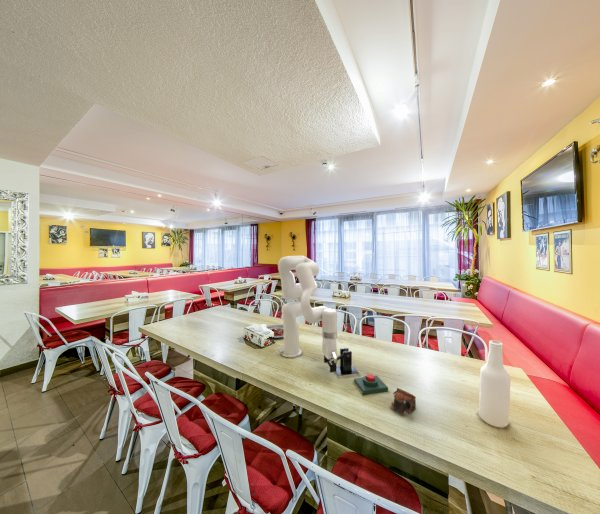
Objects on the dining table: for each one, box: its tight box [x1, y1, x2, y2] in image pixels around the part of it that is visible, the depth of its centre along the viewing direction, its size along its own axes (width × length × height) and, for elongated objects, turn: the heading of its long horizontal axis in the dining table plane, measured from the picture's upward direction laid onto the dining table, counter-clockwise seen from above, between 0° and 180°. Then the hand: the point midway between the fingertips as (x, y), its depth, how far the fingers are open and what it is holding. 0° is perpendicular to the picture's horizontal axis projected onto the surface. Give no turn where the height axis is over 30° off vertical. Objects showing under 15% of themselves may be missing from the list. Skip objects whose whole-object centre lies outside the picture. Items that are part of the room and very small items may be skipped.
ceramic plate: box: [266, 324, 284, 339], centre depth 181 cm, size 26×26×3 cm
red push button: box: [366, 373, 376, 382], centre depth 112 cm, size 4×4×2 cm
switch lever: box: [326, 350, 347, 368], centre depth 124 cm, size 12×5×2 cm, turn 100°
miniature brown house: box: [390, 387, 417, 416], centre depth 96 cm, size 12×10×8 cm
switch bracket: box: [335, 347, 360, 377], centre depth 125 cm, size 11×9×12 cm
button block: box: [353, 374, 389, 396], centre depth 112 cm, size 12×10×4 cm
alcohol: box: [478, 339, 511, 428], centre depth 90 cm, size 9×9×30 cm
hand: (329, 366), depth 123 cm, fingers open, 9 cm apart
